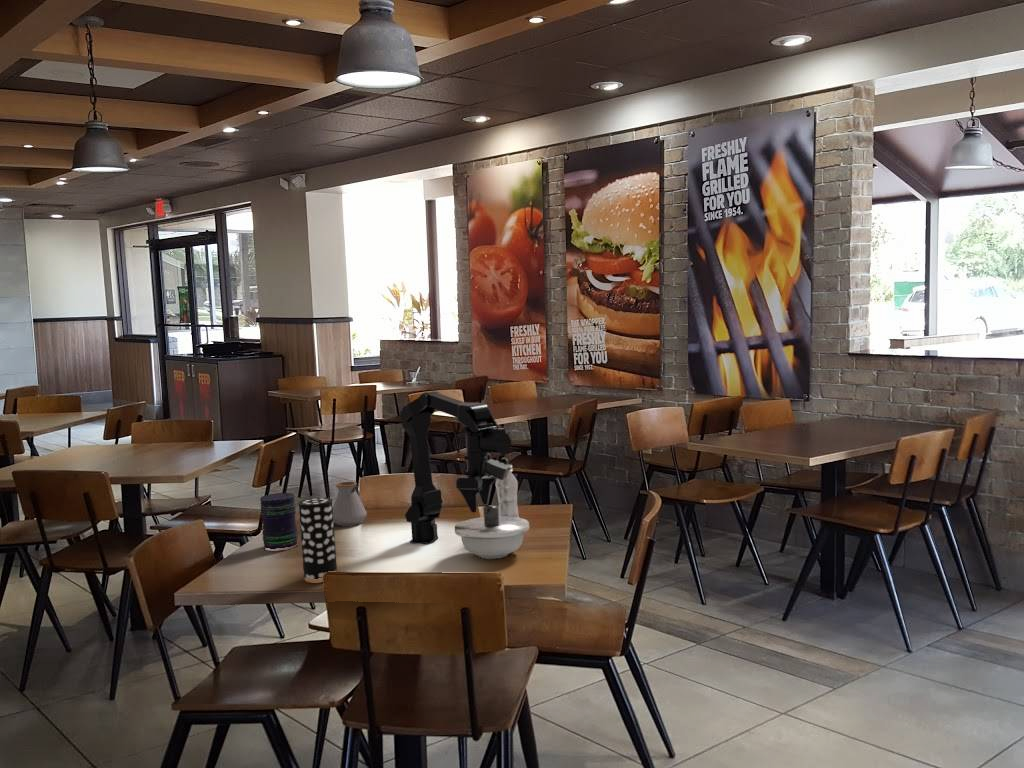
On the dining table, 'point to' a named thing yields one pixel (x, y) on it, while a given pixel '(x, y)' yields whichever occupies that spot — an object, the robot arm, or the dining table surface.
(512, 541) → the cereal bowl
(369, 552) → the dining table surface
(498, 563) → the dining table surface
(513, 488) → the plastic bottle
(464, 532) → the steel lid
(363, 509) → the coffee pot
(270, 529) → the storage jar
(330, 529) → the white-spotted black cylinder
